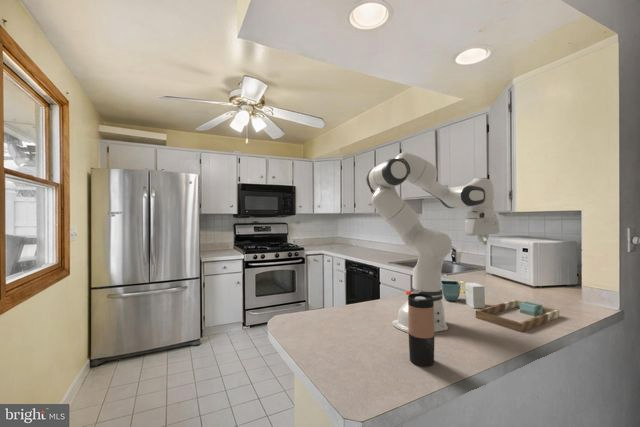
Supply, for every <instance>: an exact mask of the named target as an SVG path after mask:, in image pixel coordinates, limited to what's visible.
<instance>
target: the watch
mask: <svg viewBox="0 0 640 427" xmlns="http://www.w3.org/2000/svg"><path fill="white" fill-rule="evenodd" d="M465 283H466V281H462V280H461V281H459V284H460V285H461V284H463V285H464V286H465ZM460 293H465V290H464V291H463V290H462V289H461V287H460Z"/></svg>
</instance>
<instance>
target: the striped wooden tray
mask: <svg viewBox="0 0 640 427" xmlns="http://www.w3.org/2000/svg"><path fill="white" fill-rule="evenodd" d="M522 302H524V301H523V300H522V301H521V300H517V299H512V300H509V301H505V302H502V303H498V304H496V305H492V306H488V307H485V308H479V309H477V310H475V318H476V319H477V320H478V319H479V320H481V321H484V322H488V323H491V324H495V325H497V326H499V327H504V328H506V329H508V330H513V331H516V332H519V333H522V332H525V331H527V330H528V331H529V330H530V329H532V328H535V327H537V326H539V325H543V324H545V323H548V322H550V320H551V321H553V320H556V319H558V318H560V309H555V308H552V307H548V306H543V305H542V310H543V313H544V314H543V315H539V316H535V317H534V316H533V317H531V318H529V319H526V320H523V321H521V322H518V321H515V320H512V319H508V318H505V317H501V316H498V315H496V313H500V312H503V311H507V310H510V309H514V308H519V309H520V303H522ZM494 314H495V315H494Z"/></svg>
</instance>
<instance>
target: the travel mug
mask: <svg viewBox="0 0 640 427" xmlns="http://www.w3.org/2000/svg"><path fill="white" fill-rule="evenodd" d="M407 301H408V333H407V334H408V349H409V360H410V362H411V363H412V364H413V365H415V366H418V367H423V368H429V367H432V366H433V365H434V363H435V332H434V299H433V297H432V296H430V295H427V294H418V293H417V294H410V295H407Z"/></svg>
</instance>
